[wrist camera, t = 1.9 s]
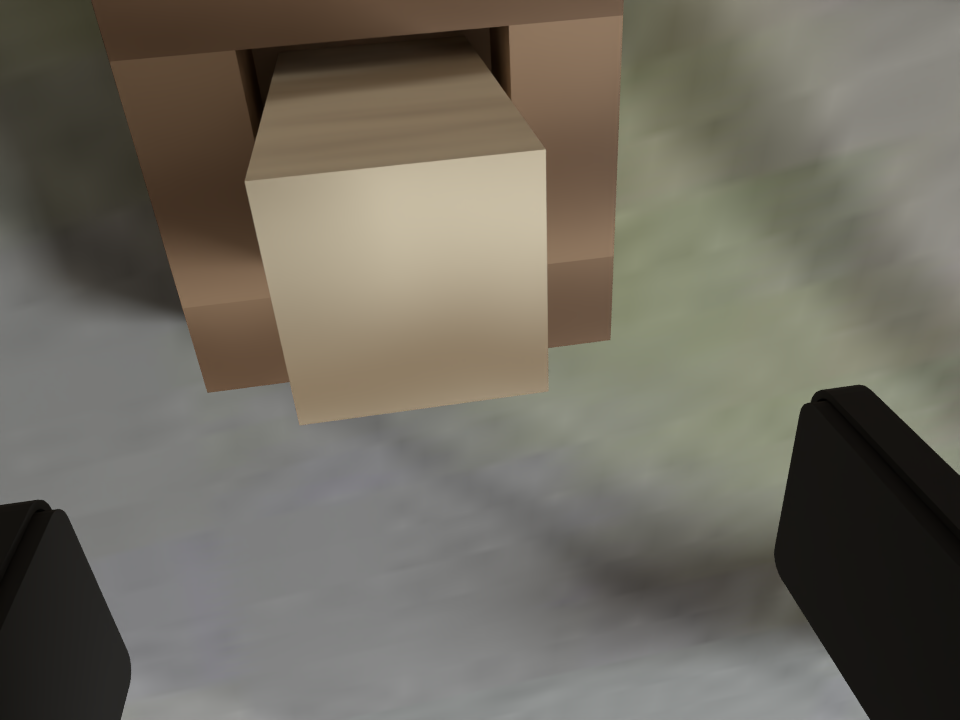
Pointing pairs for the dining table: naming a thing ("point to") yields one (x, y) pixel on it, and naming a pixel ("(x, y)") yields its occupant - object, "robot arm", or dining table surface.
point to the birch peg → (400, 229)
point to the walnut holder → (238, 111)
